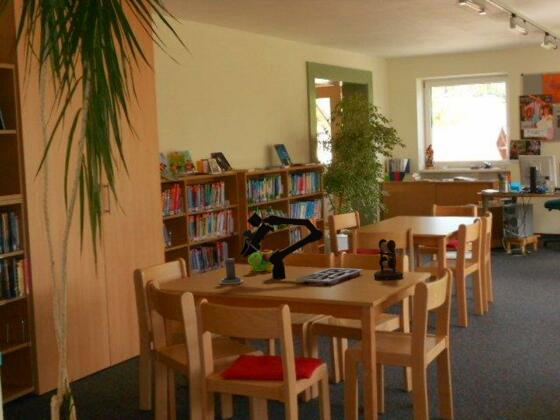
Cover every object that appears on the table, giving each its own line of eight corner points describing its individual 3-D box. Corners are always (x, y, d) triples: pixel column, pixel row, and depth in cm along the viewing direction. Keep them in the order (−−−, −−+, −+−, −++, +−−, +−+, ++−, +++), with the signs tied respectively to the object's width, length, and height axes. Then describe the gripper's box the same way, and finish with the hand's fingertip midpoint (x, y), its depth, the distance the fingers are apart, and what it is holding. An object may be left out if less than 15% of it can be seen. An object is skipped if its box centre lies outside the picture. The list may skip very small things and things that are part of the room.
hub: (243, 279, 427) (243, 275, 427) (243, 283, 414) (243, 279, 414) (219, 281, 426) (219, 277, 426) (218, 285, 413) (218, 281, 413)
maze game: (331, 273, 431) (331, 267, 431) (363, 275, 420) (362, 269, 419) (296, 285, 402) (295, 279, 402) (329, 287, 391) (328, 280, 391)
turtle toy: (240, 273, 448) (238, 253, 447) (265, 267, 467) (264, 247, 466) (263, 275, 438) (261, 254, 437) (288, 268, 456) (287, 248, 455)
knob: (237, 280, 421) (236, 257, 420) (233, 282, 417) (232, 259, 416) (228, 280, 423) (227, 257, 422) (224, 282, 418) (223, 259, 417)
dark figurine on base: (409, 277, 402) (407, 238, 401) (386, 281, 395) (384, 242, 393) (390, 274, 415) (388, 236, 413) (368, 278, 407) (366, 240, 406)
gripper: (246, 222, 431) (227, 244, 429) (253, 225, 413) (234, 248, 411) (261, 235, 433) (242, 257, 432) (268, 239, 415) (249, 261, 413)
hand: (242, 255), depth 422 cm, fingers open, 9 cm apart
